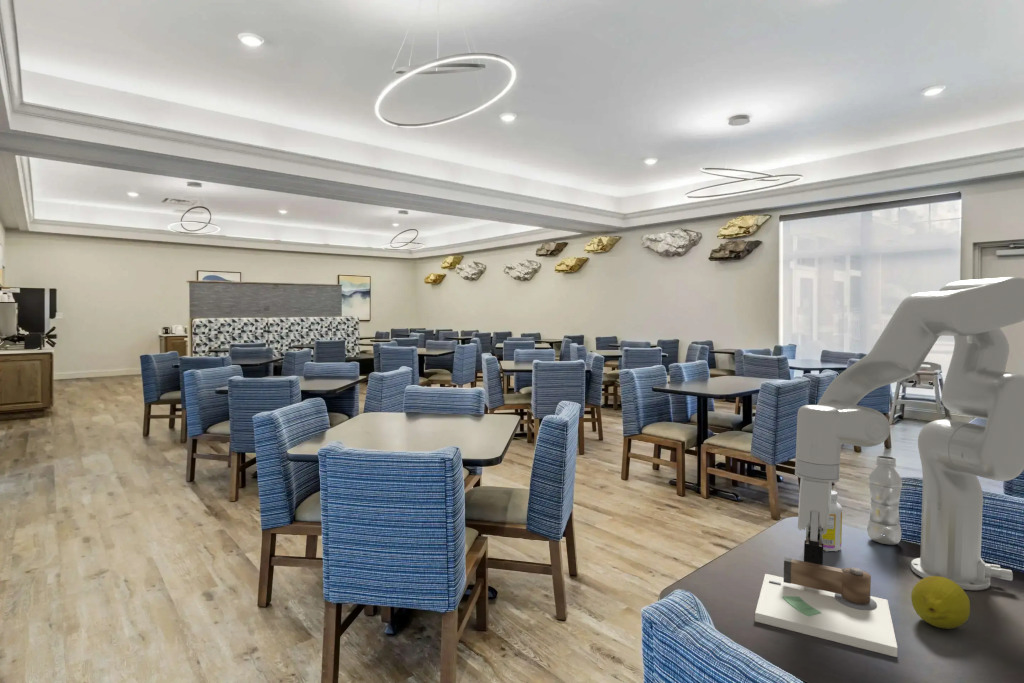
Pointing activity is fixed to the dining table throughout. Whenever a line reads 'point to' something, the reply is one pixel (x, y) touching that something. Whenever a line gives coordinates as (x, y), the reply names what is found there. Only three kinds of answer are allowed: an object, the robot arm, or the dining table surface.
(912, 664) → the dining table surface
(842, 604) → the dial plate
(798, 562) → the walnut dial lever
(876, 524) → the plastic bottle
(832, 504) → the supplement bottle
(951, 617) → the lemon
